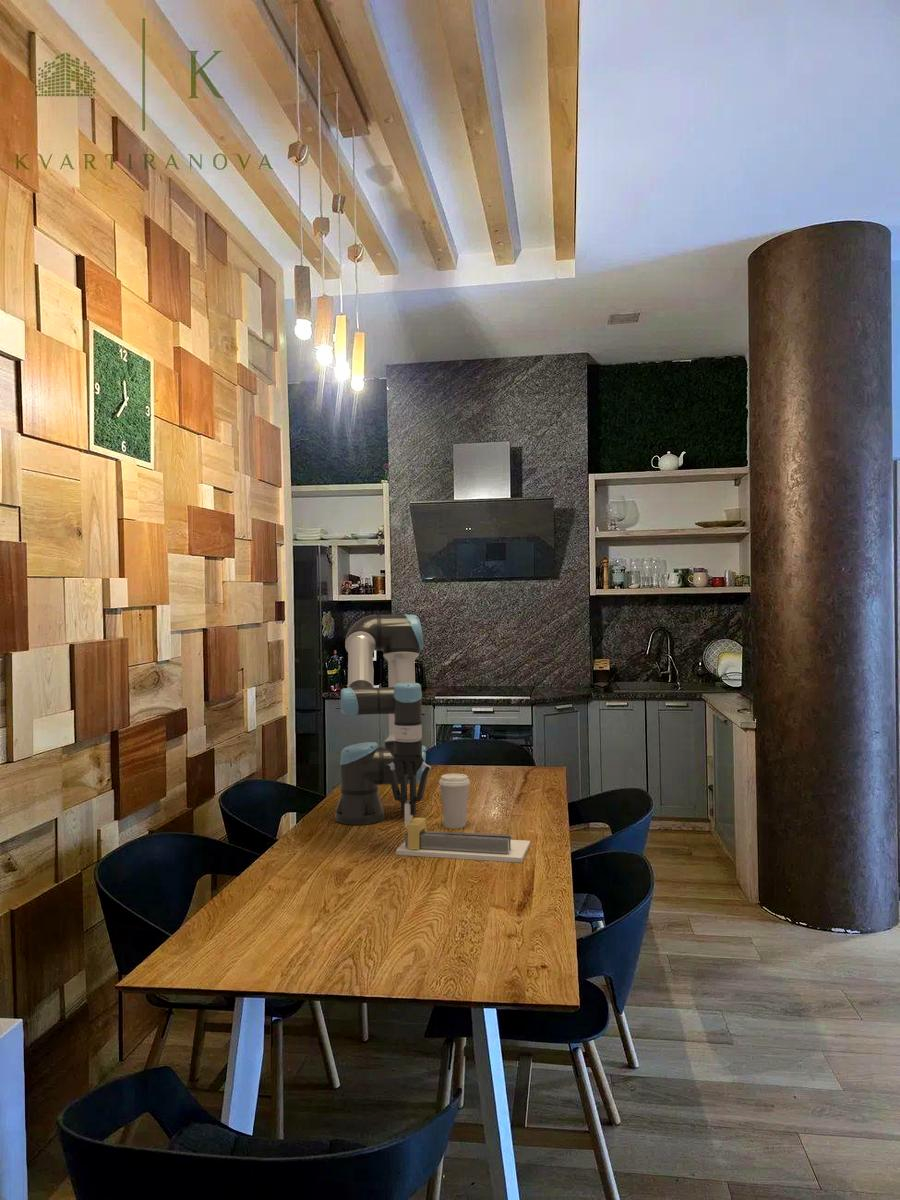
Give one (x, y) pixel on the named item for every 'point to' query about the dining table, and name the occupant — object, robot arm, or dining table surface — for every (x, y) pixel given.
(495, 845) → the tongs fixed
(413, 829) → the tan boxy piece
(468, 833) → the tongs jaw
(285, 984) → the dining table surface
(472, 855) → the board
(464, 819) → the coffee cup
